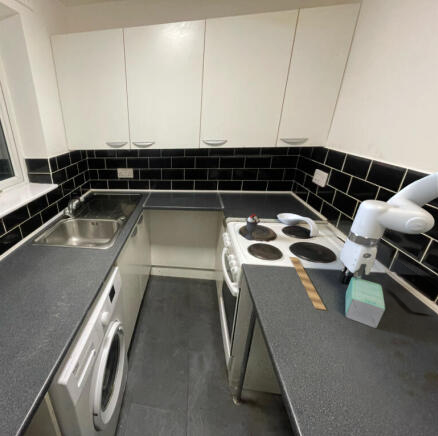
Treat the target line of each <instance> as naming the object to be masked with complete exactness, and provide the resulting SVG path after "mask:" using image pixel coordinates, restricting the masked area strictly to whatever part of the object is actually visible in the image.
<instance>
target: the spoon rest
mask: <svg viewBox="0 0 438 436" xmlns="http://www.w3.org/2000/svg"><path fill="white" fill-rule="evenodd" d="M276 216H277V219H278V220H279V221H280V222H281V223H283V224H285V225H288V226H293V225H297V224H299V223H300V222H306V223H307V224H308V225H309V227H310V233H309V236H310V237H311V238H312V237H318V236H319V234H320V231H319V230H320V229H319V227H318V225H317V224H316V222H315V221H314V220H313V219H311V218H310V217H307V216H306V217H305V216H302V215H299V214H297V213H296V214H295V213H288V212H284V213H283V212H282V213H279V214H277V215H276Z"/></svg>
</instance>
